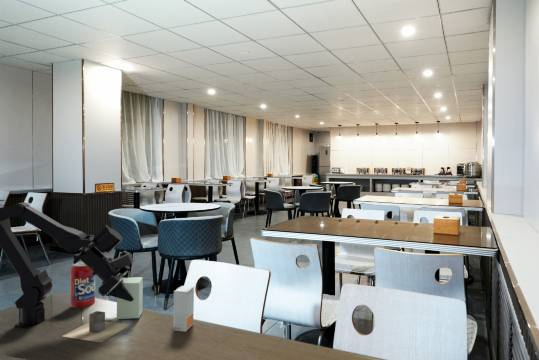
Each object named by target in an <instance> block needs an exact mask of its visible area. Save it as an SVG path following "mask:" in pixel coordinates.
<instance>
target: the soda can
mask: <svg viewBox="0 0 539 360" xmlns="http://www.w3.org/2000/svg"><path fill="white" fill-rule="evenodd" d="M93 268H94V267H93ZM93 268H92V269H93ZM92 269H89V268H88V267H87V266H86V265H85V264H84V263H83V262H82V261H79V262H78V263H76V264H73V263H72V266H71V268H70V272H69V275H70V278H69V279H70V280H69V281H70V285H69V287H70V293H69V297H70V298H69V299H70V301H69V302H70V303H69V304H70V307H71V308H74V309H75V308H85V307H89V306H92V305H94V304H95V303H96V275H95V276H94V275H92V273H93V271H92Z"/></svg>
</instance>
